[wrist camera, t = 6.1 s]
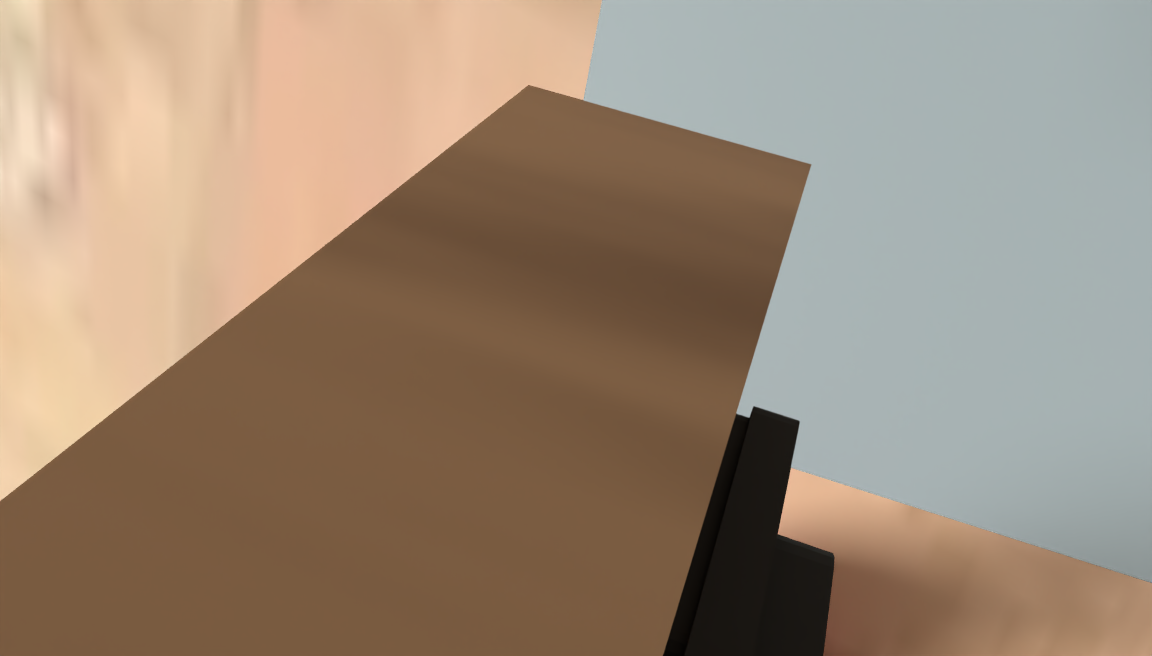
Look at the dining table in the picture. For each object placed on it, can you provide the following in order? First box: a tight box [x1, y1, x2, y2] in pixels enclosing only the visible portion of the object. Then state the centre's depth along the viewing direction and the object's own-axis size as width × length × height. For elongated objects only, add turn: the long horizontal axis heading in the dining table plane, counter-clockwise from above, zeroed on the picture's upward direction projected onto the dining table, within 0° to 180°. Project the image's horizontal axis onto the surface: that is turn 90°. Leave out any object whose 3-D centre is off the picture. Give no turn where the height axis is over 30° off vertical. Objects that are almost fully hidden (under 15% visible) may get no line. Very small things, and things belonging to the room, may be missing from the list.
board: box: [584, 0, 1152, 583], centre depth 26 cm, size 20×20×2 cm
